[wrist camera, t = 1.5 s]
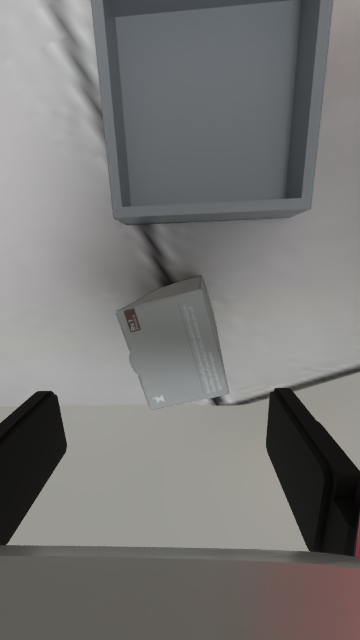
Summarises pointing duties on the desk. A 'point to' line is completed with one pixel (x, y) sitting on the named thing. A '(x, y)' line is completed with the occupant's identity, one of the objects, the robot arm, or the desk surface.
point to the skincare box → (175, 344)
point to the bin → (211, 106)
